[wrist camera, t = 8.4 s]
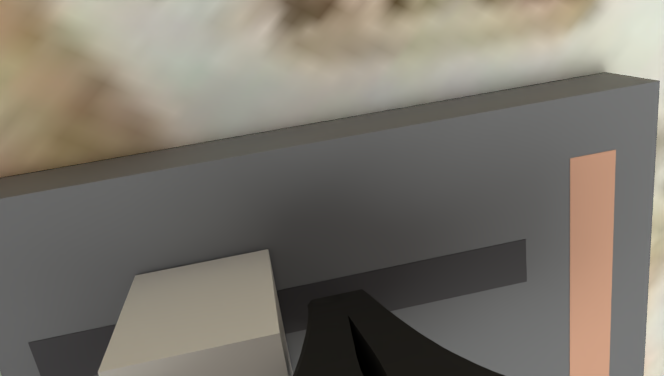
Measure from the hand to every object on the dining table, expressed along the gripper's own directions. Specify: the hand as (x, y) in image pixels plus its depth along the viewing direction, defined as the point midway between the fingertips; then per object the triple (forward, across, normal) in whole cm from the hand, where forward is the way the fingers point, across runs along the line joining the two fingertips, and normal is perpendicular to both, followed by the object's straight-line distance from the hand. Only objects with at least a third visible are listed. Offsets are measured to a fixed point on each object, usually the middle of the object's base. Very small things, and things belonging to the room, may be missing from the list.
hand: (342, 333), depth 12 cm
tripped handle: (+1, +3, 0) cm, 3 cm away
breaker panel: (+3, 0, +6) cm, 7 cm away
